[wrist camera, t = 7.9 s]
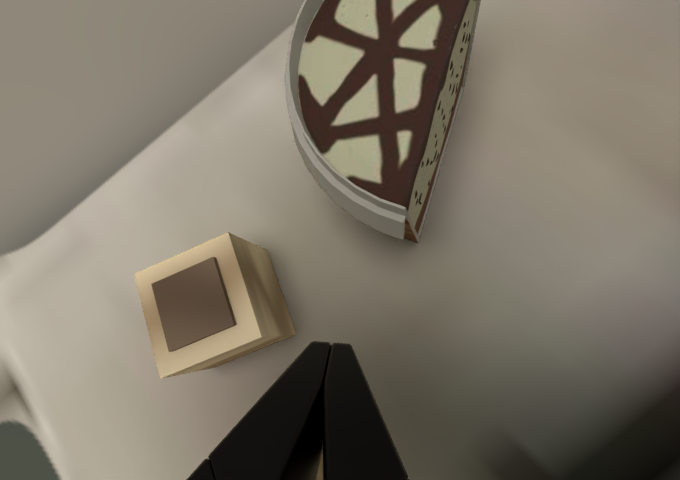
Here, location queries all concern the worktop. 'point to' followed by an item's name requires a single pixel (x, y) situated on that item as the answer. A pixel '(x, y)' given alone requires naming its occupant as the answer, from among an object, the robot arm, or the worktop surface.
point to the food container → (378, 101)
